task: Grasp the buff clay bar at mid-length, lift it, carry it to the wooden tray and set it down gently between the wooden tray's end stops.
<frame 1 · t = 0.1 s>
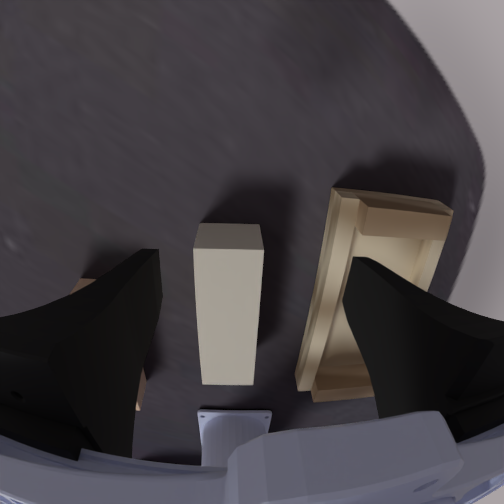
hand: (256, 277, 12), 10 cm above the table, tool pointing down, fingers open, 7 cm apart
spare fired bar: (116, 334, 26), on the table
wooden tray: (363, 298, 25), on the table
clay bar: (228, 295, 24), on the table
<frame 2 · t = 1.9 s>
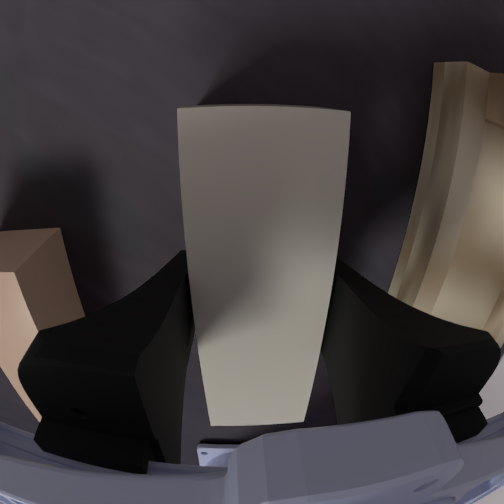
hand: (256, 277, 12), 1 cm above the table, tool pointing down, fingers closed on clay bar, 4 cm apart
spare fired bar: (63, 329, 15), on the table
wooden tray: (465, 264, 14), on the table
clay bar: (253, 257, 13), on the table, touching gripper
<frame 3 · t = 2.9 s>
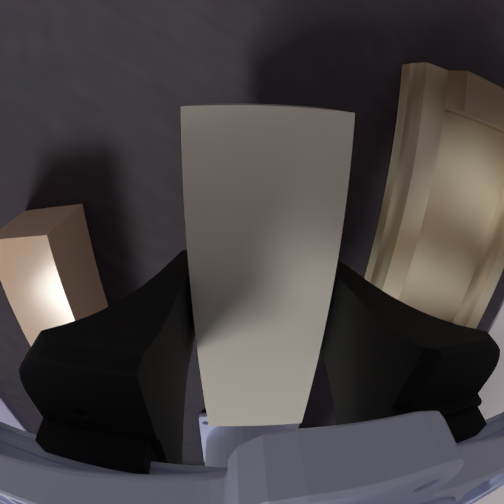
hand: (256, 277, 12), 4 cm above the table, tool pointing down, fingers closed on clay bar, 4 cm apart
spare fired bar: (80, 299, 17), on the table
wooden tray: (439, 240, 16), on the table
clay bar: (254, 257, 13), point 3 cm above the table, touching gripper
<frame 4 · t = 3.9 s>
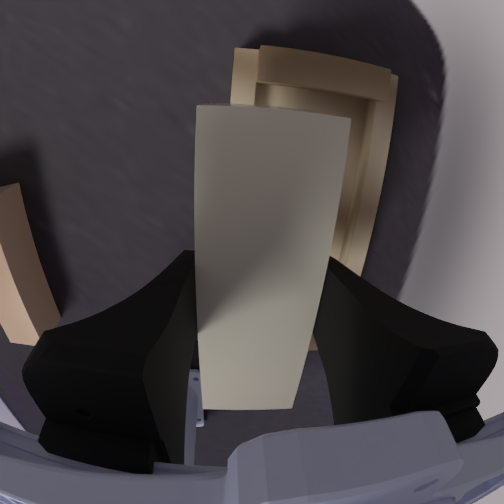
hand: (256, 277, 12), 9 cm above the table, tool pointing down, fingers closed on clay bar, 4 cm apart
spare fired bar: (22, 255, 21), on the table
wooden tray: (296, 204, 20), on the table
clay bar: (251, 248, 14), point 7 cm above the table, touching gripper
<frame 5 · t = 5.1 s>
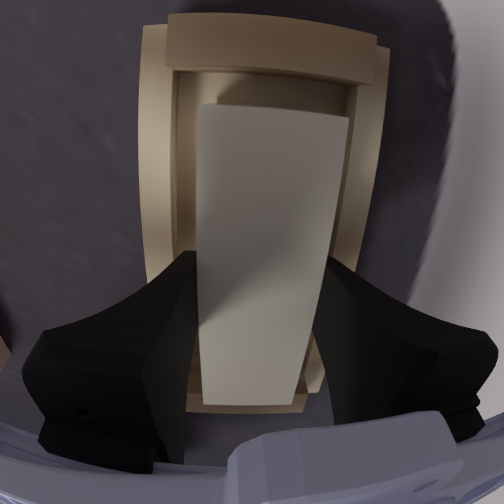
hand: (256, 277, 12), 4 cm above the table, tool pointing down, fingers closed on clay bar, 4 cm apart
wooden tray: (251, 235, 15), on the table
clay bar: (252, 246, 14), point 1 cm above the table, touching gripper
when the fingers open (3 cm above the table, at t = 5.6 s): clay bar stays where it is, resting on wooden tray.
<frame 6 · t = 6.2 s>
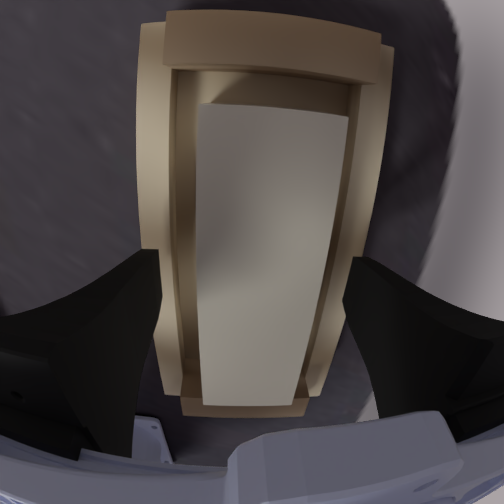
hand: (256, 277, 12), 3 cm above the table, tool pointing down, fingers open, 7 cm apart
wooden tray: (251, 237, 15), on the table
clay bar: (252, 246, 14), point 1 cm above the table, touching wooden tray
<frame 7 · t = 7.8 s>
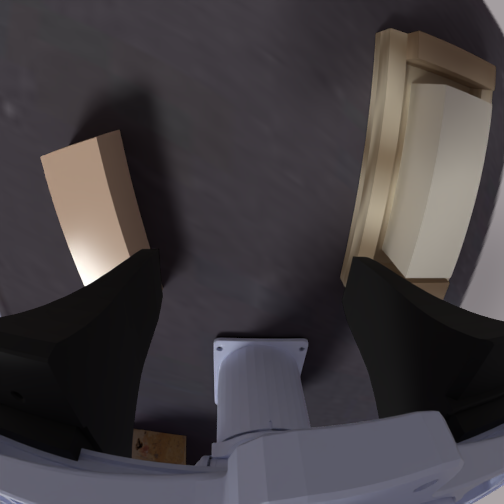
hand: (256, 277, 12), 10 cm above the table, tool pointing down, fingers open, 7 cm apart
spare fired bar: (116, 218, 21), on the table
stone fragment: (151, 449, 36), on the table
wooden tray: (417, 169, 20), on the table
clay bar: (422, 173, 19), point 1 cm above the table, touching wooden tray
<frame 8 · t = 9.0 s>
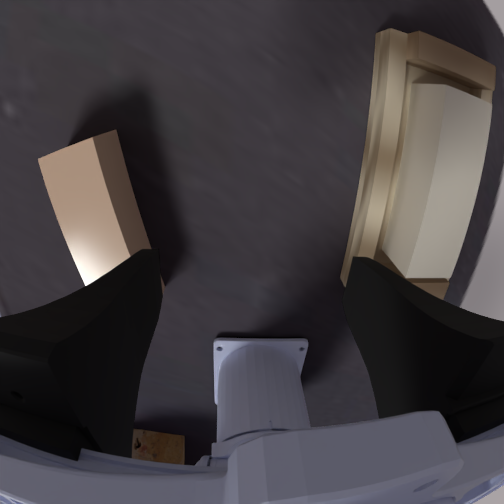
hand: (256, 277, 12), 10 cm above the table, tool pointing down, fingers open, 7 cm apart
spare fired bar: (115, 218, 21), on the table
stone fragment: (149, 448, 36), on the table
wooden tray: (417, 169, 20), on the table
clay bar: (422, 173, 19), point 1 cm above the table, touching wooden tray
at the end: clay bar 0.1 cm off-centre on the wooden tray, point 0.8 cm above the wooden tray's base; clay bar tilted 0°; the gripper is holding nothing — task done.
